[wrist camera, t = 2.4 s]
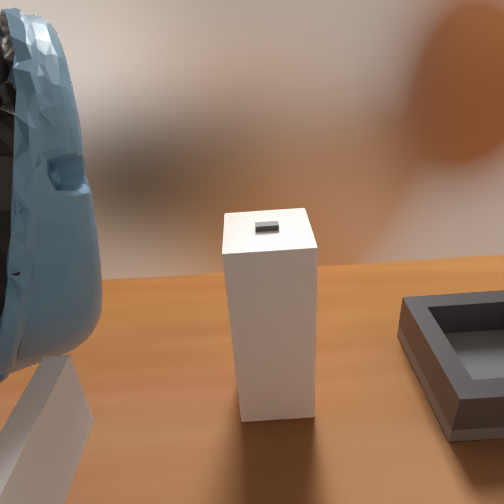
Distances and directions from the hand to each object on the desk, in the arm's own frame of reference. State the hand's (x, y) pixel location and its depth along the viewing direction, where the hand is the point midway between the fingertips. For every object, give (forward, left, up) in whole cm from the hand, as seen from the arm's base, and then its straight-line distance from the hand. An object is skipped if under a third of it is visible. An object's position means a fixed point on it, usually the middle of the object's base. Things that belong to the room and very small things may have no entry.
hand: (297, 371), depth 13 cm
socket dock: (+14, +11, -13) cm, 21 cm away
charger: (0, +11, -13) cm, 16 cm away
